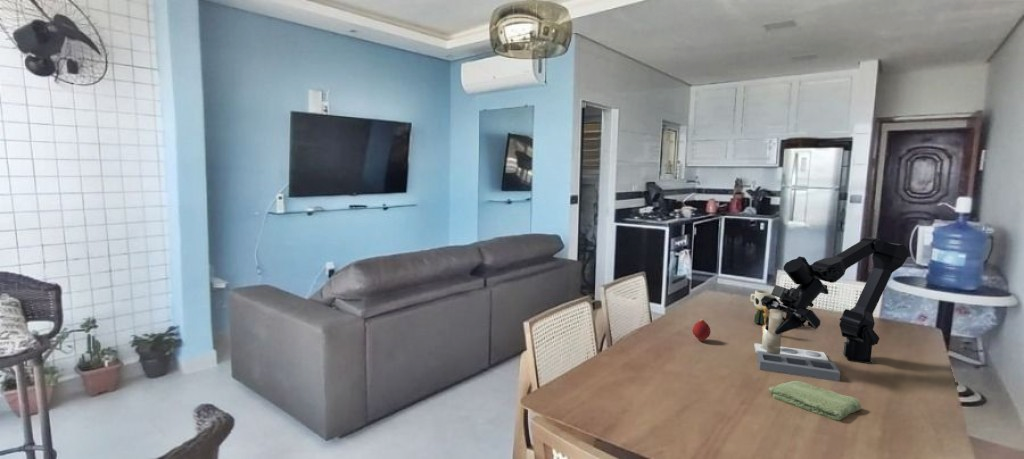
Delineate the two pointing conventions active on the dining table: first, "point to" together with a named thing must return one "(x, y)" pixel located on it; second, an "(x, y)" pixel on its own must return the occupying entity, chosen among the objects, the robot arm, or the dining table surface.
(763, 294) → the character mug
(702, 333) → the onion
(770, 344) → the birch peg
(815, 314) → the robot arm
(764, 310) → the figurine
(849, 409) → the washcloth
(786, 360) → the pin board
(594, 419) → the dining table surface
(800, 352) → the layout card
